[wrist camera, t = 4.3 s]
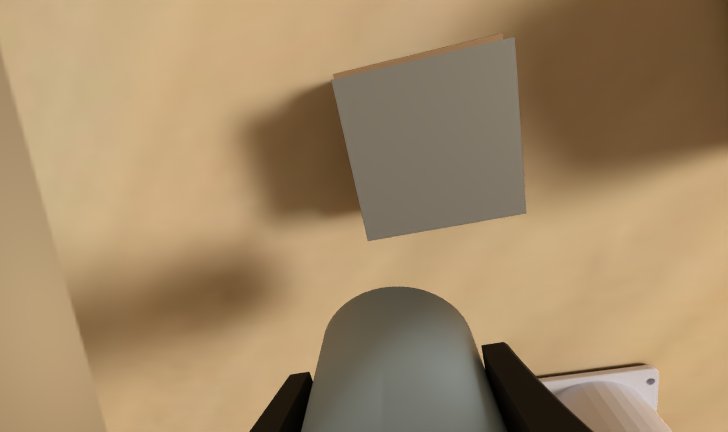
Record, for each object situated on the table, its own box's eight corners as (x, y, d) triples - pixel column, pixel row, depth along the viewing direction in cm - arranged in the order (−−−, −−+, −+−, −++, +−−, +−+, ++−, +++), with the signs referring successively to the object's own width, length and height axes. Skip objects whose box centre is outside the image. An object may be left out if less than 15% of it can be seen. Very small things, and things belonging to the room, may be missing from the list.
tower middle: (498, 190, 16) (526, 213, 13) (370, 214, 16) (367, 241, 13) (486, 49, 14) (514, 36, 11) (342, 82, 15) (330, 79, 12)
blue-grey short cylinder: (481, 399, 12) (545, 598, 7) (342, 415, 13) (317, 608, 8) (464, 274, 10) (531, 425, 6) (305, 300, 11) (247, 455, 6)
